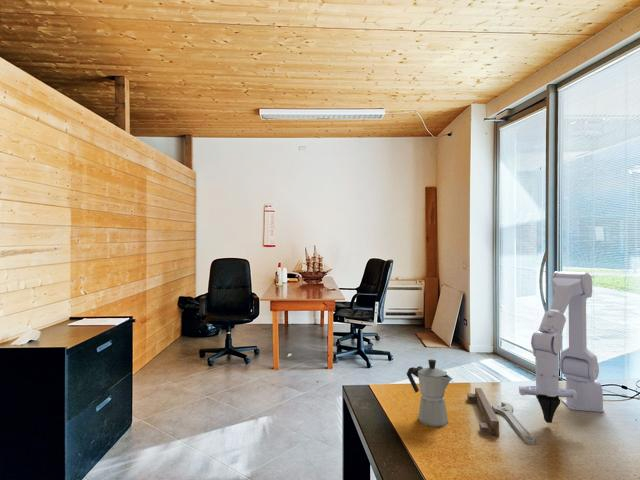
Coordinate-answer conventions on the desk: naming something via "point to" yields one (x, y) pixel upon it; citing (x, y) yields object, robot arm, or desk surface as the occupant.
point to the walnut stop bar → (485, 413)
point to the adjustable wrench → (514, 421)
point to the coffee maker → (431, 393)
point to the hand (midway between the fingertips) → (548, 421)
